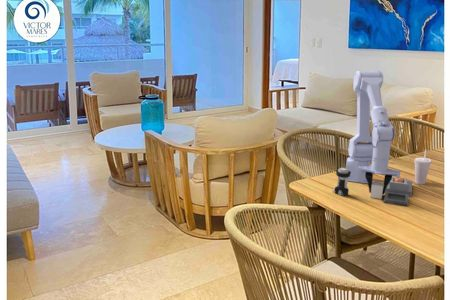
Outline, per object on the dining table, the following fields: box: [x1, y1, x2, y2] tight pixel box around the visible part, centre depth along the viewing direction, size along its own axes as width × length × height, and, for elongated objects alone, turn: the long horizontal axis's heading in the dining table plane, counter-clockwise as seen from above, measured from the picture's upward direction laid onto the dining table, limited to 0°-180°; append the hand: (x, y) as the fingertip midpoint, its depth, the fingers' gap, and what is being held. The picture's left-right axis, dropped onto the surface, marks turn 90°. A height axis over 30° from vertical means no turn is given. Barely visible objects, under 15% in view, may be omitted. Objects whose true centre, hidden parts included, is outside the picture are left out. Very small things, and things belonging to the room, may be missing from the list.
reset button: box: [394, 177, 404, 183], centre depth 180 cm, size 3×3×3 cm
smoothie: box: [413, 148, 432, 185], centre depth 189 cm, size 6×6×14 cm
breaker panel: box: [384, 176, 413, 198], centre depth 183 cm, size 10×12×4 cm
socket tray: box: [383, 192, 409, 207], centre depth 172 cm, size 8×8×1 cm
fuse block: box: [370, 180, 384, 200], centre depth 176 cm, size 4×4×6 cm
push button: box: [331, 167, 351, 197], centre depth 177 cm, size 7×5×10 cm
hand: (376, 192), depth 176 cm, fingers closed on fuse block, 4 cm apart
